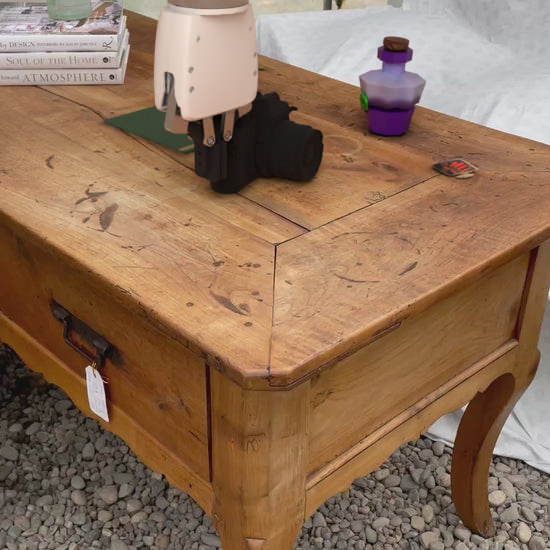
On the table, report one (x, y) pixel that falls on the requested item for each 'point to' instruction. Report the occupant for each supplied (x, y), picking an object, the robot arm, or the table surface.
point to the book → (152, 128)
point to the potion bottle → (391, 90)
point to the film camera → (270, 146)
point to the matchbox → (455, 167)
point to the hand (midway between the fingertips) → (210, 176)
